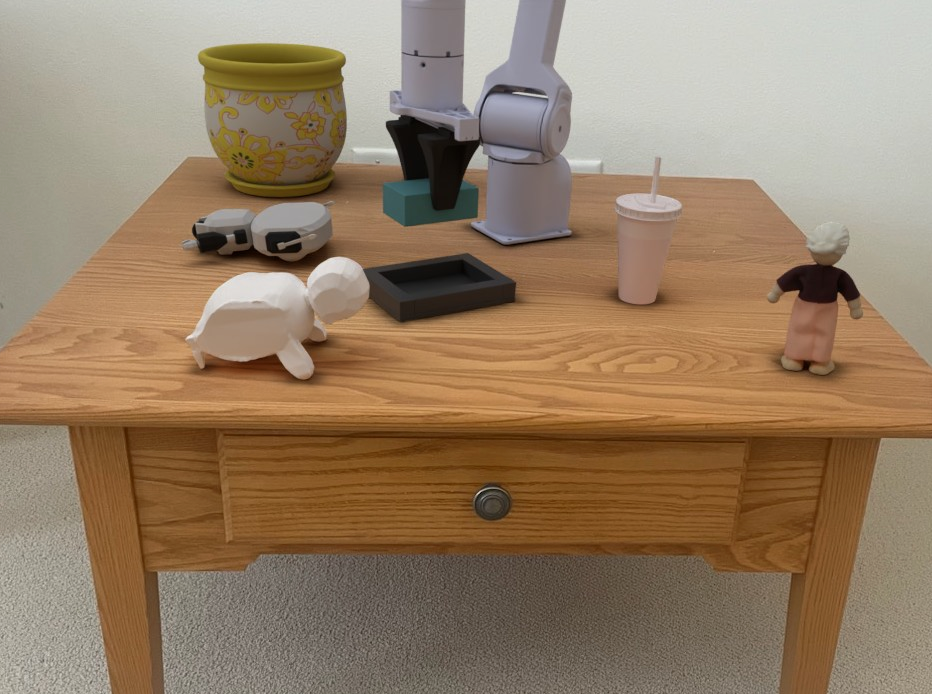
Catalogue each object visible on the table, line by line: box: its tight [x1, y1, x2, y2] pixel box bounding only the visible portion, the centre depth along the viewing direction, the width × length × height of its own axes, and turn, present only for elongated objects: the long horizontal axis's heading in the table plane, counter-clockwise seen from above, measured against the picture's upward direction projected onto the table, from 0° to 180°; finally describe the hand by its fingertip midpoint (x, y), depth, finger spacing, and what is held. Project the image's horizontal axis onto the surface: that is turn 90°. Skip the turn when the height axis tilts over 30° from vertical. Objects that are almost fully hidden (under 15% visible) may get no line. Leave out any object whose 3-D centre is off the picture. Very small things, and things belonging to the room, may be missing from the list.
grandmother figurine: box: [766, 220, 864, 376], centre depth 80 cm, size 8×4×13 cm, turn 81°
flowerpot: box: [197, 42, 348, 198], centre depth 123 cm, size 18×18×16 cm
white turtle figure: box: [185, 256, 370, 381], centre depth 78 cm, size 9×8×15 cm
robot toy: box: [181, 200, 335, 262], centre depth 102 cm, size 12×4×15 cm
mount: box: [362, 252, 517, 323], centre depth 94 cm, size 12×10×2 cm
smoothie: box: [614, 156, 683, 305], centre depth 92 cm, size 6×6×14 cm
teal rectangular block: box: [382, 178, 480, 228], centre depth 93 cm, size 8×5×3 cm, turn 120°
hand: (430, 201), depth 94 cm, fingers closed on teal rectangular block, 5 cm apart
